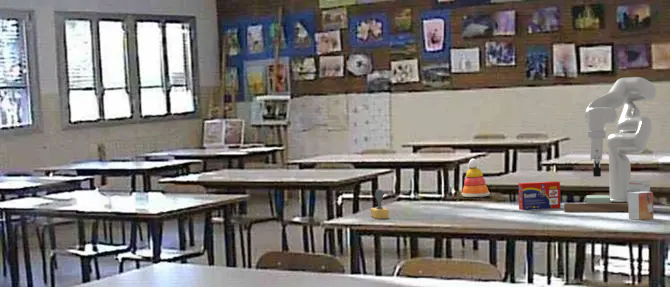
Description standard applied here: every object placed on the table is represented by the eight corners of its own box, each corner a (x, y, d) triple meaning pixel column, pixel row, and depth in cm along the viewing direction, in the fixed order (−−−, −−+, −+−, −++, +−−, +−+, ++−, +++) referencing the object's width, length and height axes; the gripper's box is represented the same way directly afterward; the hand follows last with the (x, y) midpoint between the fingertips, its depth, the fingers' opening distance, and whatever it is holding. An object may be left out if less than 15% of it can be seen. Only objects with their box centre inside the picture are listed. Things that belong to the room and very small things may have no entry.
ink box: (650, 207, 423) (650, 180, 423) (644, 208, 420) (643, 180, 419) (633, 206, 430) (633, 179, 429) (627, 207, 426) (626, 180, 426)
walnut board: (564, 211, 416) (564, 203, 416) (633, 211, 409) (633, 202, 409) (564, 211, 414) (564, 203, 414) (633, 211, 407) (633, 203, 407)
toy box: (556, 207, 435) (555, 181, 434) (560, 208, 431) (559, 181, 430) (518, 209, 430) (518, 183, 430) (522, 210, 427) (522, 183, 426)
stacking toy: (492, 195, 500) (491, 157, 499) (486, 198, 487) (485, 159, 486) (465, 195, 505) (464, 157, 504) (458, 198, 492) (457, 159, 491)
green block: (586, 207, 431) (586, 195, 431) (610, 207, 429) (610, 195, 428) (586, 210, 420) (585, 197, 420) (610, 210, 417) (610, 197, 417)
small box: (638, 220, 378) (638, 193, 378) (628, 219, 383) (627, 192, 383) (654, 218, 382) (653, 191, 381) (643, 217, 387) (642, 190, 386)
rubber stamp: (388, 218, 411) (388, 189, 411) (375, 218, 410) (374, 190, 410) (383, 215, 421) (383, 188, 421) (370, 216, 420) (369, 188, 420)
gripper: (588, 135, 442) (588, 175, 442) (587, 135, 427) (588, 177, 428) (605, 134, 440) (605, 175, 440) (605, 135, 425) (606, 177, 426)
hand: (597, 176), depth 434 cm, fingers closed
